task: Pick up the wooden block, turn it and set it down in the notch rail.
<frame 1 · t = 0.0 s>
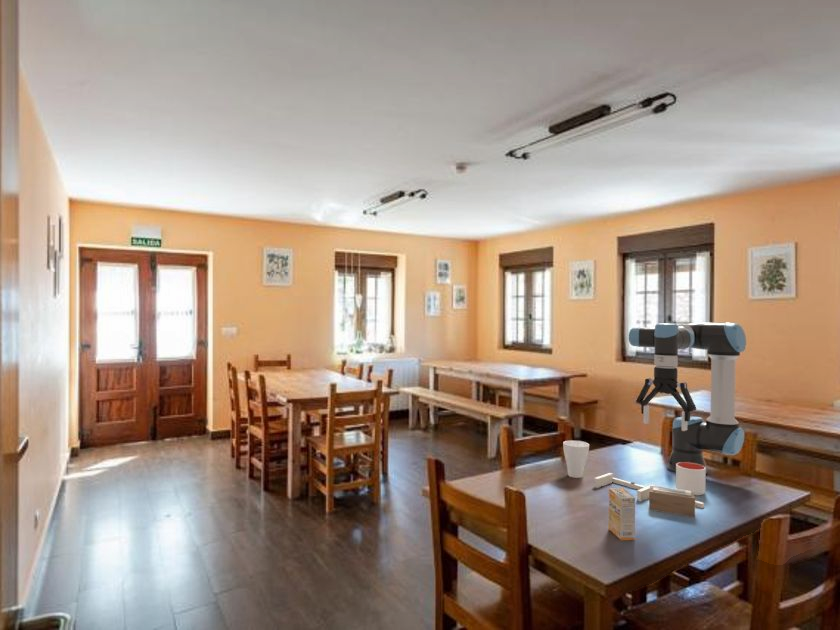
hand: (664, 426, 182), 28 cm above the table, fingers open, 13 cm apart
wooden block: (671, 510, 179), on the table
notch rail: (646, 495, 192), on the table
cup: (690, 492, 197), on the table
cup 2: (575, 476, 214), on the table
supplement box: (621, 535, 158), on the table
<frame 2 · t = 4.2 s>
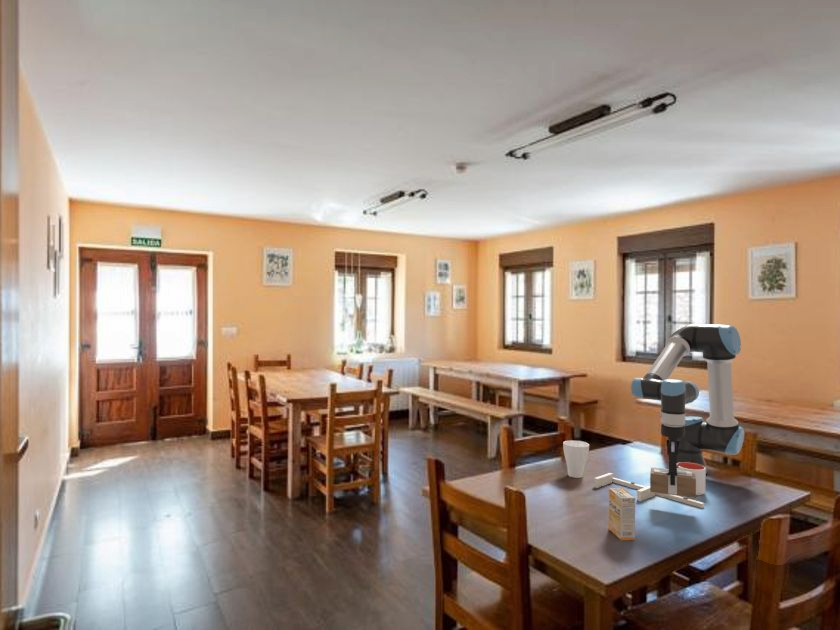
hand: (672, 489, 179), 7 cm above the table, fingers closed on wooden block, 7 cm apart
wooden block: (672, 491, 179), point 6 cm above the table, touching gripper
everything else where it was.
when the fingers open (1 cm above the table, at t = 8.9 s): wooden block drops 1 cm, on the table.
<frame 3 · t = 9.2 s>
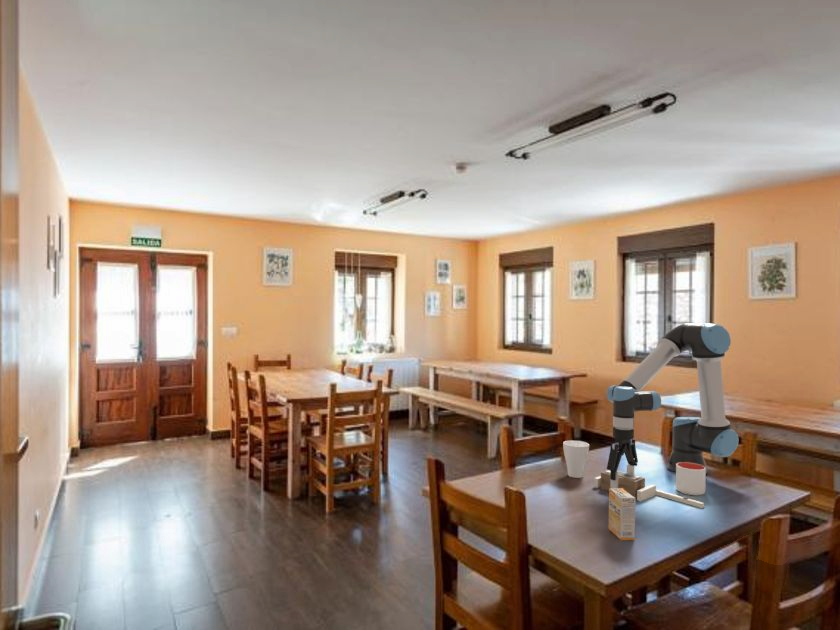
hand: (622, 485, 196), 2 cm above the table, fingers open, 11 cm apart
wooden block: (622, 492, 196), on the table
everything else where it was.
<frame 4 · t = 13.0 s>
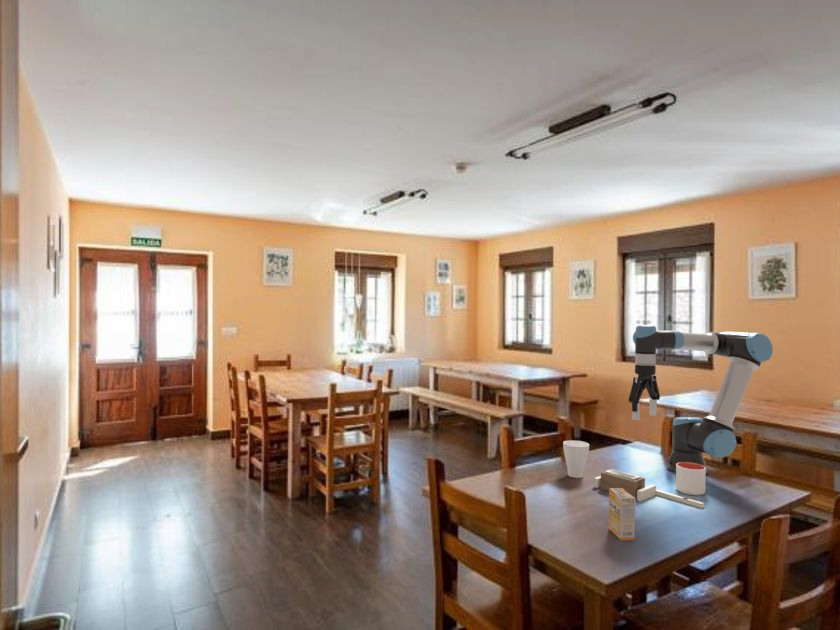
hand: (644, 417, 204), 27 cm above the table, fingers open, 13 cm apart
nothing on the table moved.
at the end: wooden block inside the target area (0.0 cm from its centre), on the table; wooden block tilted 0°; the gripper is holding nothing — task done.
